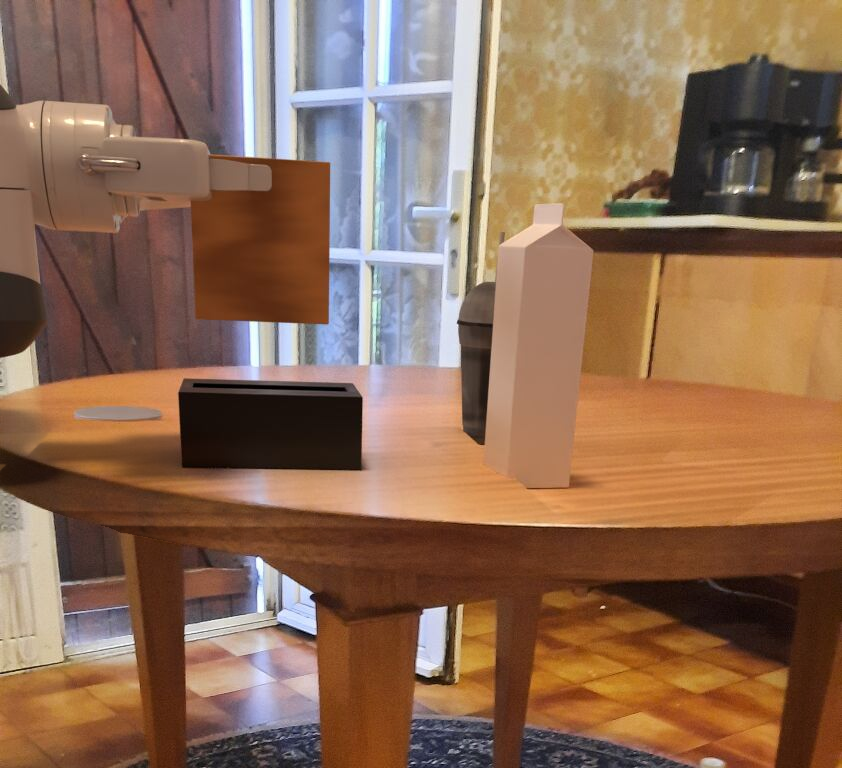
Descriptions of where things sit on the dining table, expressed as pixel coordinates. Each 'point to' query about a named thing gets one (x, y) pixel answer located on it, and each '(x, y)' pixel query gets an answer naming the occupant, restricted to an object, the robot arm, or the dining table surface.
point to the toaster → (270, 425)
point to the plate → (118, 413)
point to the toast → (265, 247)
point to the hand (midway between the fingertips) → (271, 179)
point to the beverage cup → (476, 355)
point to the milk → (537, 351)
